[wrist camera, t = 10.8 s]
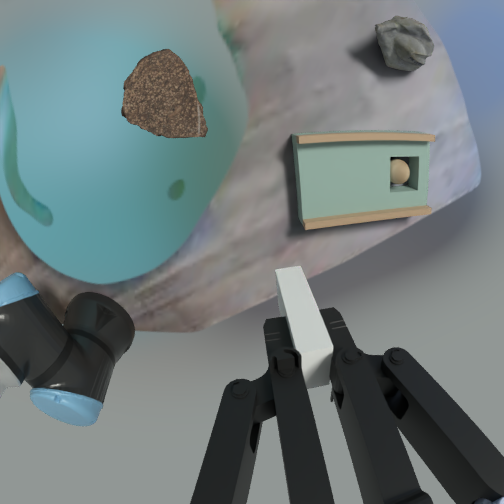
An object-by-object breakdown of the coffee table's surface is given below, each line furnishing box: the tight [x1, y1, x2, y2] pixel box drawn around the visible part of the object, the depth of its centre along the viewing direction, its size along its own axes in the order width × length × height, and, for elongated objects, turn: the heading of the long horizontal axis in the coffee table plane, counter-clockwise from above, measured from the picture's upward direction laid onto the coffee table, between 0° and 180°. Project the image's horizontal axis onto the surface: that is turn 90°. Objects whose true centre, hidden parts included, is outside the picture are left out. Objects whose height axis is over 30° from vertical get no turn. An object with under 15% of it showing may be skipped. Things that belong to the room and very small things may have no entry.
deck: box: [292, 130, 435, 230], centre depth 38 cm, size 22×13×4 cm, turn 97°
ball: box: [390, 159, 410, 184], centre depth 39 cm, size 4×4×4 cm
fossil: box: [375, 16, 434, 71], centre depth 27 cm, size 11×9×8 cm
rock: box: [121, 49, 208, 138], centre depth 30 cm, size 12×10×10 cm
